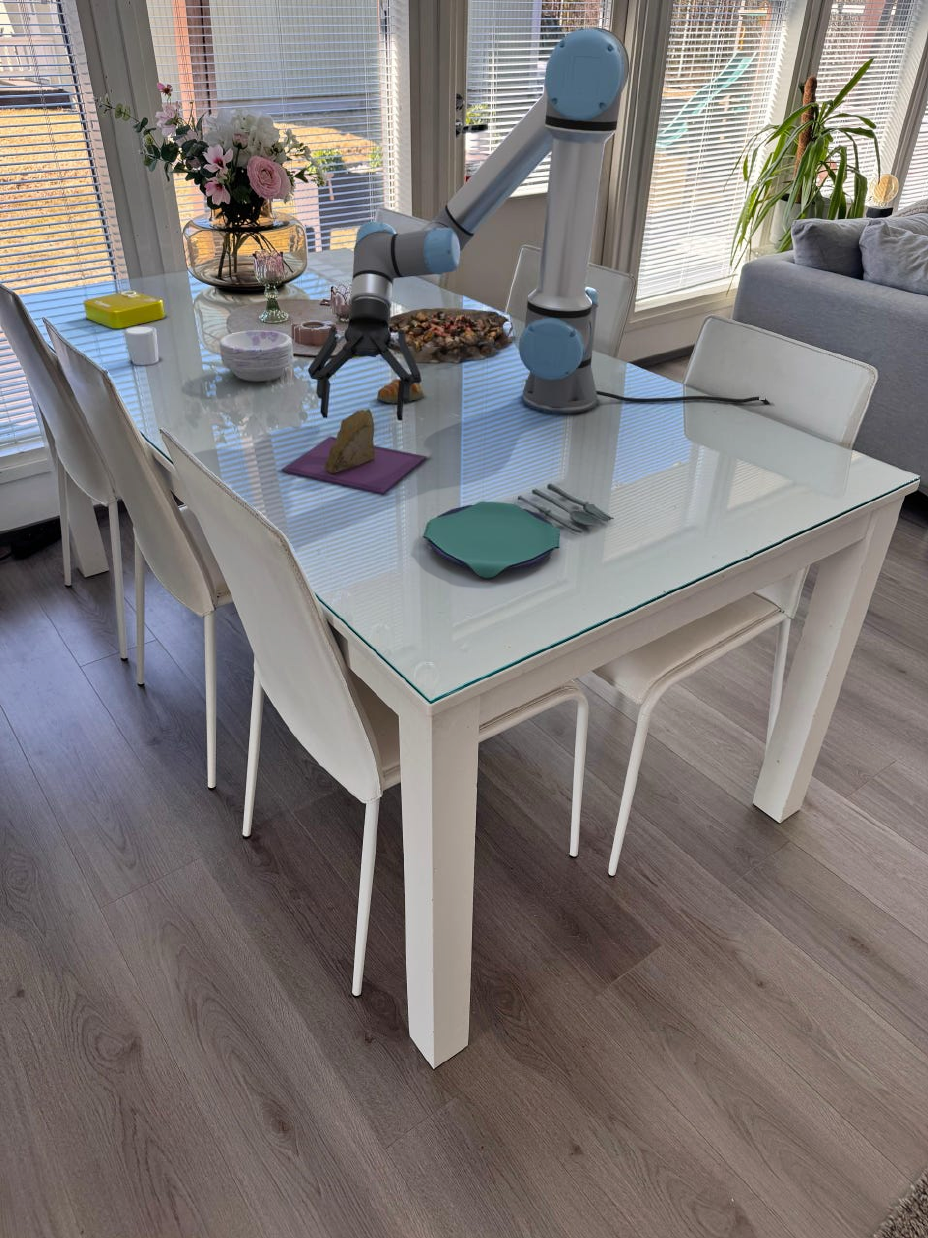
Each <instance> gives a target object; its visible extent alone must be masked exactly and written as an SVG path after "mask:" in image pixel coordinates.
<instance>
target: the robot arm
mask: <svg viewBox="0 0 928 1238" xmlns="http://www.w3.org/2000/svg"><path fill="white" fill-rule="evenodd" d="M545 66H546V67H545V72H544V82H545V83H544V84H543V85H542V94H541V96H540V97H539V98H538V99H537V101H536V102H535V103H533V105H532V107H531V108H530V109H529V110H528V111H527V112H526V113H525V114H524V116H523V117H522V118H521V119H520V120H519V121H518V122H517V124H515V126H514V127H513V128H512V129H511V130H510V131H509V133H508V134H507V135H506V136H505V137H504V138H503V139H502V140H501V142H500V143H499V144H498V145H497V146H496V147H495V149H493V151H492V152H491V153H490V154H489V156H488V157H486V159H485V160H484V161H483V162H482V163H481V165H480V166H479V167H478V168H477V170H475V172H473V174H472V175H470V177H469V178H468V179H467V181H466V182H465V183H464V184H463V185H462V186H461V188H460V189H459V190H458V191H457V192H456V193H455V194H454V195H453V196H452V197H451V199H450V200H449V201H448V202H447V203H446V205H444V206H443V208H442V209H441V210H440V211H439V212H438V214H436V215H435V217H434V218H433V219H432V220H431V221H430V222H429V223H428V224H426V225H424V226H423V227H422V228H420V229H419V230H415V231H408V232H402V233H396V231H395V230H396V229H394V228H393V226H391V225H389V224H388V223H386V222H378V221H375V220H374V221H368V222H365V223H364V224H362V225H361V226H360V227H358V230H357V232H356V237H355V243H354V247H353V264H352V265H353V267H352V280H351V287H350V297H349V298H350V299H349V303H350V305H349V308H348V309H349V312H348V321H347V328H346V329H345V330H339V329H337V328H336V327H335V326H331V327H330V328H329V331H328V337H327V339H326V340H325V342H324V343H323V345H322V346H321V348H320V350H319V351H318V352H317V354H316V356H315V358H314V359H313V361H312V362H311V364H310V366H309V367H308V369H307V372H308V374H309V377H310V379H312V380H316V381H317V382H316V391H315V392H316V396H317V397H318V399H321V400H320V410H319V411H320V414H321V416H322V418H325V419H328V416H329V415H328V414H329V405H330V403H329V402H330V391H331V382H330V379H331V378H332V377H333V376H334V375H335V374H336V373H337V372H338V371H339V370H340V369H341V368H342V367H343V366H344V365H345V364H346V363H347V362H348V361H349V360H352V359H353V358H354V357H355V356H356V355H357V356H358V357H370V358H376V357H377V356H379V355H380V356H381V358H382V360H384V361H385V362H386V363H387V364H388V365H389V367H390V368H391V369H392V371H393V372H394V373H395V374H396V375H397V377H398V379H401V380H399V388H398V401H397V402H396V417H397V421H398V422H399V421H400V422H402V421H403V417H404V403H409V402H410V401H409V400H410V390H411V385H412V384H414V383H420V384H421V383H422V376H421V372H420V370H419V367H418V365H417V362H416V361H414V359H413V356H412V354H411V352H410V350H409V348H408V345H407V343H406V335H405V331H404V330H403V329H400V330H399V331H398V332H396V333H390V331H389V329H390V317H392V316H391V314H392V311H391V308H392V303H393V302H392V301H393V288H394V280H395V279H402V278H409V277H418V276H419V277H420V276H421V277H422V276H429V275H430V276H431V275H437V276H438V275H442V274H445V273H451V272H454V271H456V270H457V269H458V268H459V265H460V260H461V251H462V250H463V249H465V247H466V245H467V244H468V243H469V242H470V240H471V239H472V238H473V237H474V236H475V235H476V234H477V233H478V231H480V229H481V228H482V227H483V226H484V225H485V224H486V223H487V222H488V221H489V220H490V219H491V217H492V216H493V215H494V214H495V213H496V212H497V211H498V210H499V209H500V208H501V207H502V206H503V205H504V204H505V202H506V201H507V200H508V199H509V198H510V197H511V196H512V195H513V194H514V193H515V191H516V190H518V189H519V187H521V186H522V184H523V183H524V182H525V181H526V180H527V179H528V178H529V177H530V175H531V174H533V172H535V170H536V169H537V168H538V167H539V166H540V165H541V164H542V163H543V162H544V161H545V160H546V158H547V157H548V156H549V155H550V162H549V170H548V171H549V172H548V181H547V190H546V191H547V192H546V201H545V209H544V218H543V219H544V220H543V230H542V238H541V247H540V257H539V258H540V259H539V268H538V277H537V284H536V285H537V287H536V288H535V289H534V290H533V291H532V292H531V293H529V294H528V295H527V303H526V311H525V320H524V321H525V322H524V329H523V330H522V332H521V334H520V337H519V341H518V342H519V343H518V353H519V357H520V360H521V362H522V364H523V366H524V367H525V368H526V369H527V370H528V371H529V373H528V376H527V378H526V379H525V384H524V386H523V390H522V402H523V403H524V404H525V405H526V406H527V407H529V408H530V409H533V410H536V411H539V412H542V413H546V414H554V415H574V414H580V413H584V412H585V413H586V412H588V411H590V410H592V409H594V407H595V406H596V405H597V399H598V396H601V397H607V398H611V399H615V400H619V401H622V402H630V403H665V402H667V403H668V402H680V401H681V402H682V401H683V402H684V401H697V400H698V401H715V402H724V403H725V402H726V403H736V404H743V403H751V402H756V401H760V402H762V403H764V404H765V405H771V403H770V402H769V400H768V399H766V398H765V400H759V397H760V396H752V397H747V398H732V397H721V396H711V395H686V396H674V397H650V398H649V397H648V398H647V397H645V398H643V397H642V398H639V397H628V396H627V397H626V396H621V395H618V394H614V393H610V392H607V391H601V390H598V389H596V388H597V387H596V383H595V378H594V373H593V369H592V360H593V359H592V358H593V351H594V349H593V348H594V341H595V340H594V339H595V328H596V319H597V310H598V309H597V308H598V307H599V302H598V300H599V299H598V298H599V297H598V296H599V295H598V292H597V290H596V289H594V288H592V287H589V286H587V280H588V274H589V265H590V258H591V250H592V244H593V235H594V229H595V228H594V227H595V221H596V213H597V207H598V197H599V191H600V183H601V176H602V169H603V163H604V153H605V146H606V143H607V141H608V140H609V139H610V138H611V137H612V136H613V135H614V134H615V133H616V132H617V129H618V121H619V114H620V107H621V99H622V93H623V91H624V89H625V87H626V85H627V82H628V79H629V73H630V58H629V54H628V50H627V48H626V45H625V43H623V41H622V39H621V38H620V37H619V36H618V35H617V34H616V33H614V32H613V31H611V30H610V29H609V30H608V29H607V28H603V27H586V28H583V27H581V28H578V29H575V30H573V31H572V32H570V33H569V32H568V34H566V35H565V36H564V37H562V39H561V40H560V41H559V42H557V44H556V45H555V47H554V48H553V49H552V51H551V54H549V58H548V60H547V62H546V65H545ZM344 339H345V341H346V343H345V344H343V346H342V348H341V349H340V350H339V351H338V352H337V353H336V354H335V355H334V356H333V357H332V358H331V356H332V355H333V353H334V351H335V350H336V348H337V346H338V344H340V343H341V342H342V340H344ZM391 340H393V341H395V344H396V345H398V346H399V345H400V348H401V352H402V353H401V354H402V356H403V358H404V361H405V362H406V365H407V367H408V369H409V371H410V373H408V372H407V370H406V369H405V368H404V366H403V365H402V364H401V363H400V362H399V361H398V359H397V358H396V357H395V355H394V354H393V353H392V352H391V350H390V348H389V346H388V345H389V343H390V342H391ZM330 358H331V359H330Z"/></svg>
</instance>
